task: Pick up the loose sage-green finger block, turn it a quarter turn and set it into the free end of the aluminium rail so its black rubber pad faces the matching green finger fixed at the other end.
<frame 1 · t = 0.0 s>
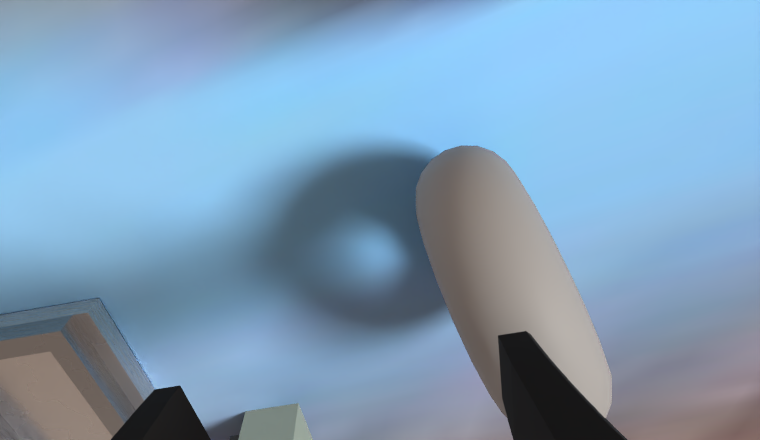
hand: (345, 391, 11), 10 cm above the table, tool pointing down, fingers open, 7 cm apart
loose finger: (281, 430, 27), on the table
donut: (474, 211, 20), on the table
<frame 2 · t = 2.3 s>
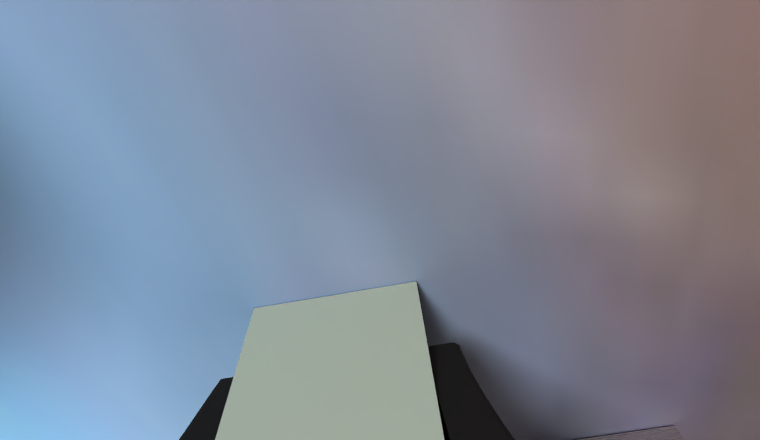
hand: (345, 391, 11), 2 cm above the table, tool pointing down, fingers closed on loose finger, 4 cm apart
loose finger: (347, 340, 12), on the table, touching gripper
when the fingers open (4 cm above the table, at t = 6.0 s): loose finger drops 1 cm, resting on rail.
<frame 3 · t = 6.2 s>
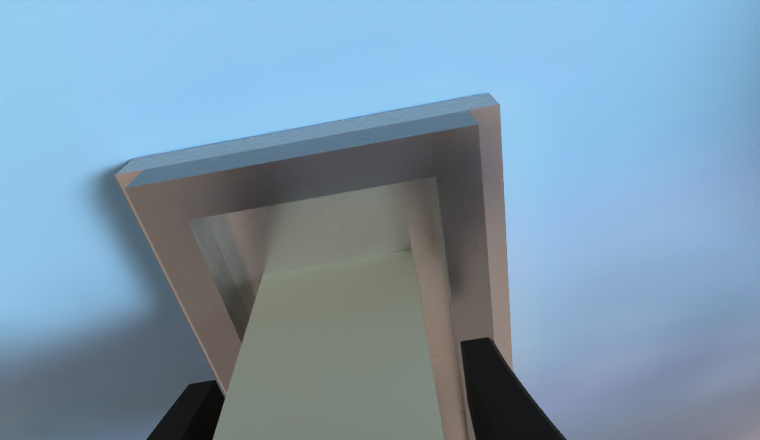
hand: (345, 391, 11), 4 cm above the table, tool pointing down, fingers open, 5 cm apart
rail: (378, 396, 16), on the table
loose finger: (348, 305, 13), point 1 cm above the table, touching rail
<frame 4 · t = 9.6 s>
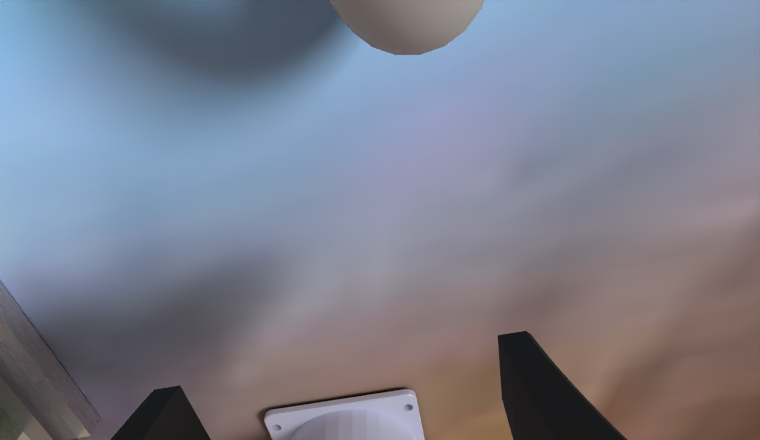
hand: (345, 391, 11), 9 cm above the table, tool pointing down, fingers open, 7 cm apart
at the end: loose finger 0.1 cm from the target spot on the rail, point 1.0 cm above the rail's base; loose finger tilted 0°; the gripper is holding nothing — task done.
